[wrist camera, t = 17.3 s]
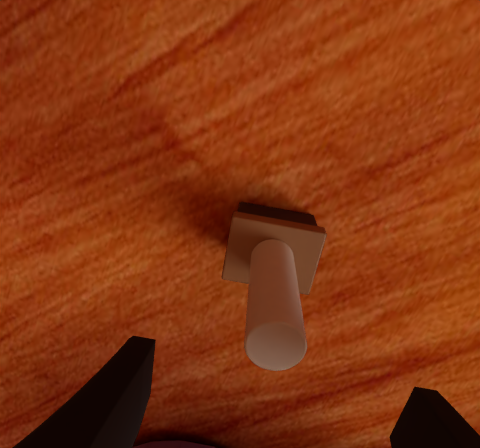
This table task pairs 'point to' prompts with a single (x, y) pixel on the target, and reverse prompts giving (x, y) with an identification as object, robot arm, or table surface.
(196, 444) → the bowl
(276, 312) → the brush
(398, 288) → the table surface
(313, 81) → the table surface
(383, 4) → the table surface
